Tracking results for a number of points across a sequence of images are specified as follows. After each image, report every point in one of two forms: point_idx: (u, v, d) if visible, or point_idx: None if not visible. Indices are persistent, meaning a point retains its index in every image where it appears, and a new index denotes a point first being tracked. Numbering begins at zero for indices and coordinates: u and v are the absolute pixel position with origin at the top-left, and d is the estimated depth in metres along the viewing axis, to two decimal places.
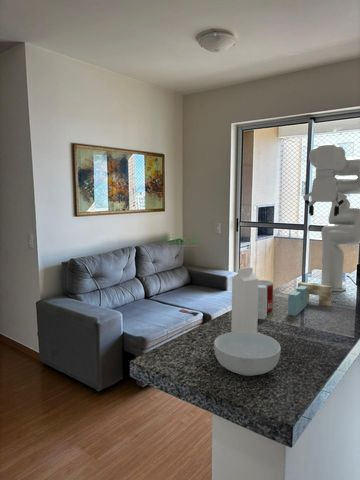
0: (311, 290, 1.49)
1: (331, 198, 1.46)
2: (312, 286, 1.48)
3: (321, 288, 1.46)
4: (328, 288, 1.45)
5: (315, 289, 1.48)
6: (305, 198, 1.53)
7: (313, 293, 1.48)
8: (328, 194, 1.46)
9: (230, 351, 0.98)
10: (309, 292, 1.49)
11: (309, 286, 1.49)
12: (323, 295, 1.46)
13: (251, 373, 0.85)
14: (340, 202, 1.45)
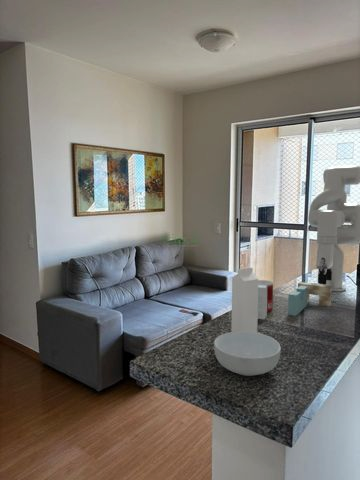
0: (311, 290, 1.49)
1: (332, 264, 1.47)
2: (312, 286, 1.48)
3: (321, 288, 1.46)
4: (328, 288, 1.45)
5: (315, 289, 1.48)
6: (322, 266, 1.39)
7: (313, 293, 1.48)
8: (332, 260, 1.46)
9: (230, 351, 0.98)
10: (309, 292, 1.49)
11: (309, 286, 1.49)
12: (323, 295, 1.46)
13: (251, 373, 0.85)
14: (330, 266, 1.50)
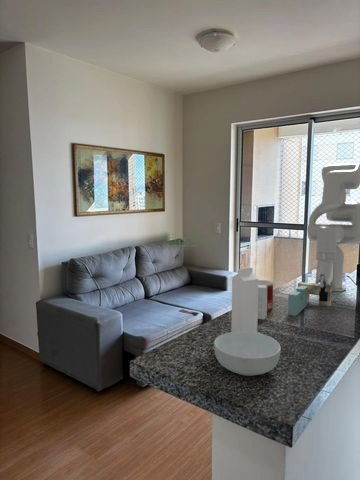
0: (311, 290, 1.49)
1: (332, 278, 1.48)
2: (312, 286, 1.48)
3: None
4: (328, 288, 1.45)
5: (315, 289, 1.48)
6: (323, 286, 1.42)
7: (313, 293, 1.48)
8: (332, 275, 1.47)
9: (230, 351, 0.98)
10: (309, 292, 1.49)
11: (309, 286, 1.49)
12: None
13: (251, 373, 0.85)
14: None
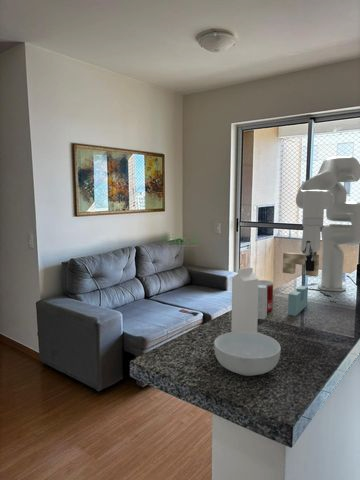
0: (297, 260, 1.38)
1: (319, 247, 1.38)
2: (298, 255, 1.38)
3: None
4: (315, 256, 1.34)
5: (301, 258, 1.37)
6: (309, 254, 1.32)
7: (299, 263, 1.38)
8: (319, 243, 1.37)
9: (230, 351, 0.98)
10: (295, 262, 1.39)
11: (295, 255, 1.39)
12: None
13: (251, 373, 0.85)
14: (315, 254, 1.39)
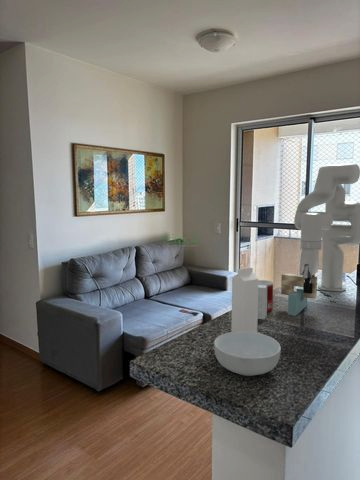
0: (295, 281, 1.39)
1: (317, 269, 1.38)
2: (296, 277, 1.39)
3: None
4: (313, 279, 1.35)
5: (299, 280, 1.38)
6: (307, 277, 1.32)
7: (297, 285, 1.39)
8: (317, 266, 1.37)
9: (230, 351, 0.98)
10: (293, 284, 1.39)
11: (293, 277, 1.39)
12: None
13: (251, 373, 0.85)
14: None
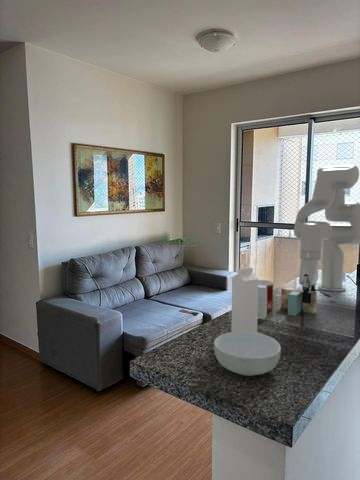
0: None
1: (317, 279, 1.39)
2: None
3: None
4: (313, 294, 1.36)
5: None
6: (306, 286, 1.32)
7: None
8: (317, 275, 1.38)
9: (230, 351, 0.98)
10: None
11: None
12: None
13: (251, 373, 0.85)
14: (314, 284, 1.41)
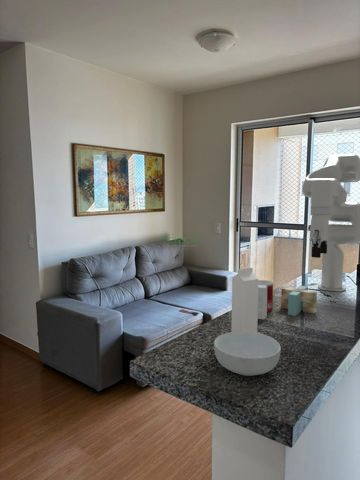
0: None
1: (327, 236, 1.39)
2: None
3: (305, 294, 1.37)
4: (313, 294, 1.36)
5: None
6: (316, 239, 1.31)
7: None
8: (327, 232, 1.38)
9: (230, 351, 0.98)
10: None
11: None
12: (307, 301, 1.37)
13: (251, 373, 0.85)
14: None
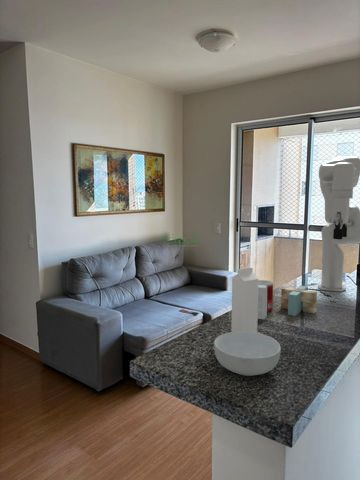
0: None
1: (348, 219, 1.42)
2: None
3: (305, 294, 1.37)
4: (313, 294, 1.36)
5: None
6: (338, 220, 1.34)
7: None
8: (348, 215, 1.41)
9: (230, 351, 0.98)
10: None
11: None
12: (307, 301, 1.37)
13: (251, 373, 0.85)
14: None
